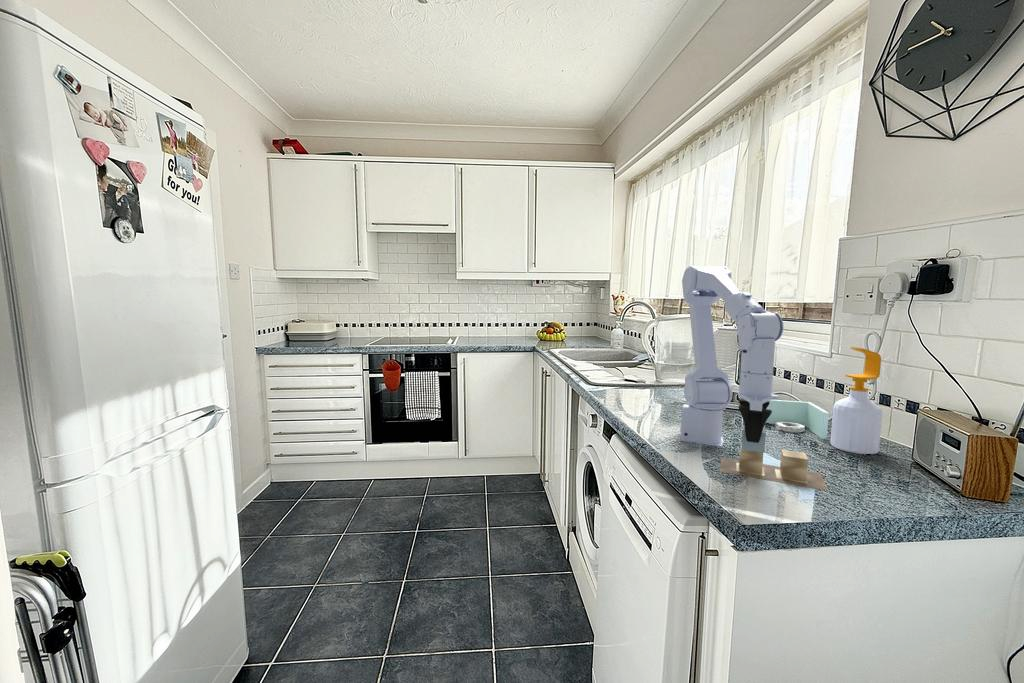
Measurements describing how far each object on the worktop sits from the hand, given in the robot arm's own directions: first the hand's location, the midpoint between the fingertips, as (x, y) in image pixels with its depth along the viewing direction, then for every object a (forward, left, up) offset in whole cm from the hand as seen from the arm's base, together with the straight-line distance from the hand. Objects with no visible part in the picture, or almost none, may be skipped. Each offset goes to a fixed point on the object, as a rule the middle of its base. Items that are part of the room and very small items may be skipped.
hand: (752, 437), depth 87 cm
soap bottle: (+22, +28, -8) cm, 37 cm away
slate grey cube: (0, 0, -2) cm, 2 cm away
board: (+4, 0, -7) cm, 8 cm away
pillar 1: (0, 0, -7) cm, 7 cm away
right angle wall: (+11, +39, -8) cm, 41 cm away
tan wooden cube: (+7, 0, -7) cm, 10 cm away
